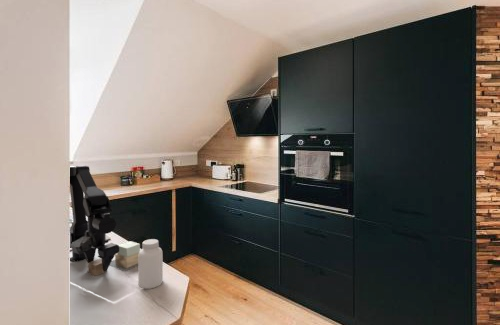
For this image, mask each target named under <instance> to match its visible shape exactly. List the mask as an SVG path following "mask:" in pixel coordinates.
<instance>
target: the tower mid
mask: <svg viewBox="0 0 500 325" xmlns="http://www.w3.org/2000/svg"><path fill="white" fill-rule="evenodd" d="M117 245H118V246H120V251H119V252H118V253H117V254H118V255H121V256H124V257H129V256H132V255H134V254H137V253H139V252H140V250H141V244H140V243H137V242H135V241H130V240H129V241H126V242H124V243H121V244H117Z"/></svg>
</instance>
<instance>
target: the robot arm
mask: <svg viewBox="0 0 500 325" xmlns="http://www.w3.org/2000/svg"><path fill="white" fill-rule="evenodd" d="M69 166H70V187H69V193H70V201H71V210H72V221H73V222H72V224H71V226H70V228H69V233H70V249H71V253H72V254H71V257H69V258H70V260H69V261H72V262H77V263H78V262H81V261H84V260H86V262H87V264H88V263H89V262H92V261H95V256H96V251H97V254H98V255H97V257H98V258H99V259H102V266H103V271H104V273H105V271H106V272H107V271H108V270H109V267H110V266H109V265H110V263H111V261H113V259H114V257H115V254H117V253H118V252H119V251H120V246H118V245H119V244H116V243H113V242H110V243H109V239H106V236H107V235H106V234H110V233H112V232H113V231H114V230H115V228H116V226H117V222H116V220H115V218H113V217H112V216H111V214H110V213H112V212H113V206H112V203H111V201H110V199H109V196H108V195H107V194H106V193H105V191H104V190H103V189H101V188H99V187H98V185H97V184H96V181H95V180H94V178H93V175H92V174H91V171H90V166H89V165H69Z"/></svg>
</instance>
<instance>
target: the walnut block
mask: <svg viewBox="0 0 500 325" xmlns="http://www.w3.org/2000/svg"><path fill="white" fill-rule="evenodd" d="M87 268H88V274H90V275H93V276H94V277H96V276H98V275H100V274H103V273H105V272H107V271H105V272H104V271H103V266H102V259H101V258H98V259H94V261H92V262H89V263H88V262H87Z"/></svg>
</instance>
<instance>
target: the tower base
mask: <svg viewBox="0 0 500 325" xmlns="http://www.w3.org/2000/svg"><path fill="white" fill-rule="evenodd" d="M138 254H139V253H137V254H134V255H132V256H129V257H124V256H121V255H118V254H115V256H114V257H115V259H114V260H115V264H117V265H119V266H122V267H125V268H128V267H131V266H133V265H135V264H137V263H138Z"/></svg>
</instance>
